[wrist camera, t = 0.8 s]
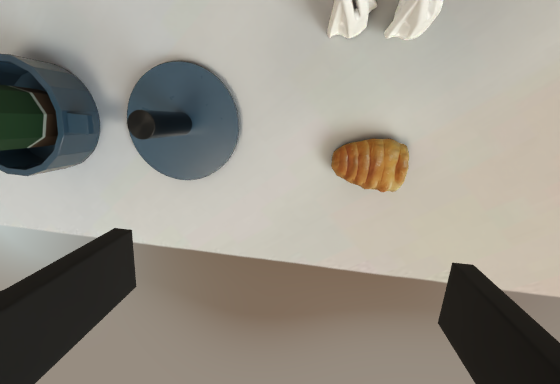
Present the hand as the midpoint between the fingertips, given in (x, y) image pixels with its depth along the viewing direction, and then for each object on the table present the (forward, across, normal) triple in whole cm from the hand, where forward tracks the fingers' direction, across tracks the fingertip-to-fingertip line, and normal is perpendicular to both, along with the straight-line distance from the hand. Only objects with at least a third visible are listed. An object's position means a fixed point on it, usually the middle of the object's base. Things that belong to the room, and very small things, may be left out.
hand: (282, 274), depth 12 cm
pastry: (+29, +9, +1) cm, 30 cm away
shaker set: (+29, +8, +18) cm, 35 cm away
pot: (+28, -37, +4) cm, 47 cm away
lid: (+28, -17, +5) cm, 33 cm away
